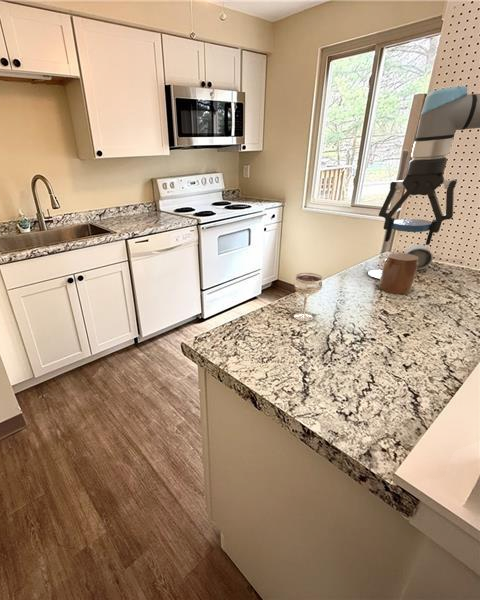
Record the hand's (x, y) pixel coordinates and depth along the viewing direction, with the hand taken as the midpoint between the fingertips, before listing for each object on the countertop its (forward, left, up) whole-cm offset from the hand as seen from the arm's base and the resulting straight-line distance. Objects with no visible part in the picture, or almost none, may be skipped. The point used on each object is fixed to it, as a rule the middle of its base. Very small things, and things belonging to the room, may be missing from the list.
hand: (406, 241), depth 91 cm
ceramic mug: (+12, -21, -15) cm, 28 cm away
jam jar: (0, 0, -15) cm, 15 cm away
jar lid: (0, 0, +5) cm, 5 cm away
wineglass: (-4, +36, -15) cm, 40 cm away
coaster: (+9, -7, -15) cm, 18 cm away
